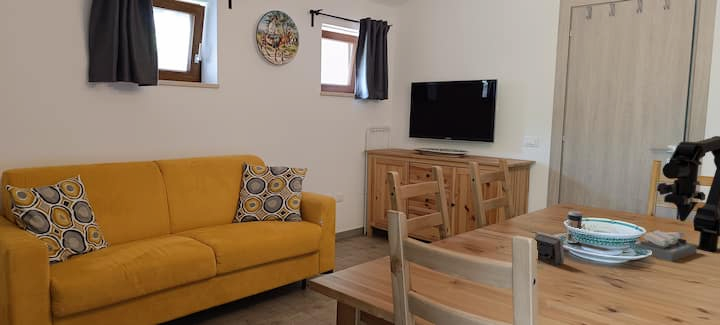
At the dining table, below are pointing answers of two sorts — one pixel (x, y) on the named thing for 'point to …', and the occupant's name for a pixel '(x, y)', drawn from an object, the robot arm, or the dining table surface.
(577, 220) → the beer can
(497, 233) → the dining table surface
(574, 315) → the dining table surface
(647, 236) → the rocker
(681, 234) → the rocker
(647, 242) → the console
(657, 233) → the rocker
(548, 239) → the electrical switch
